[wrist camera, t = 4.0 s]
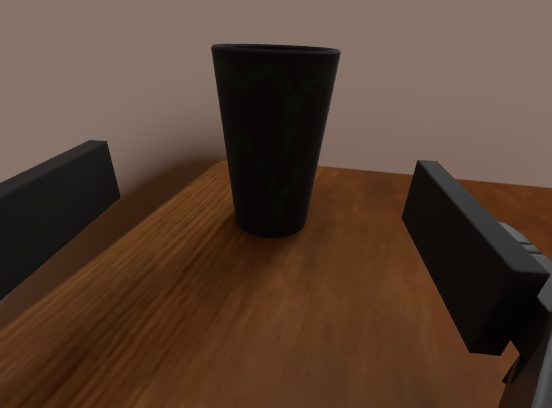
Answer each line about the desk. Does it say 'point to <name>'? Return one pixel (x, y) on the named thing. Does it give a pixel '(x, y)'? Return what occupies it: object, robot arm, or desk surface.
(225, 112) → the cup
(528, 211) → the desk surface
